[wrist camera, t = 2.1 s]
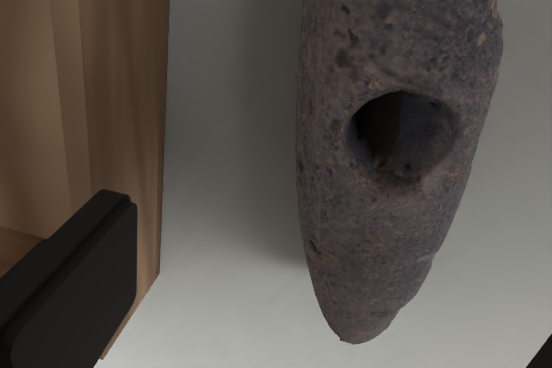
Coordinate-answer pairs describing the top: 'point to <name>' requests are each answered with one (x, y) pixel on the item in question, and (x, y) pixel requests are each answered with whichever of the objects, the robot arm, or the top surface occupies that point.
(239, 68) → the top surface
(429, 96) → the perforated stone tool
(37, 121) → the box
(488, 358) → the top surface
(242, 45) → the top surface
